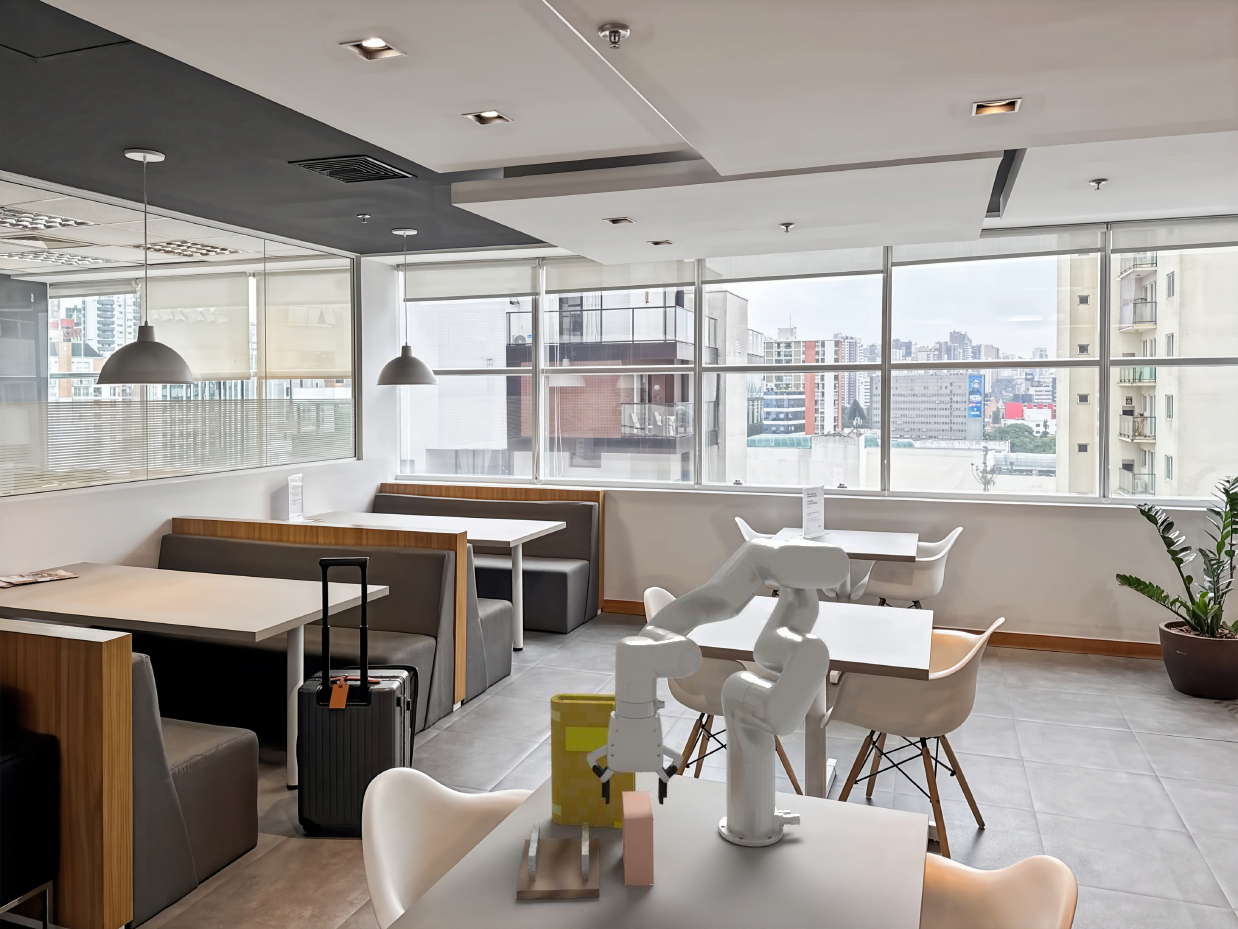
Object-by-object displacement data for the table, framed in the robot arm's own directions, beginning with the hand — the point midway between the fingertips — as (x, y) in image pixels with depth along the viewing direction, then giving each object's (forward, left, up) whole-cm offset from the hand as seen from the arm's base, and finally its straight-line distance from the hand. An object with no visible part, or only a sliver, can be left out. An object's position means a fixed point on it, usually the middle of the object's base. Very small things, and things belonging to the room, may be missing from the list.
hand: (634, 801), depth 154 cm
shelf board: (+13, 0, -13) cm, 18 cm away
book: (+7, -20, -13) cm, 25 cm away
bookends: (+13, 0, -11) cm, 17 cm away
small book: (-1, 0, -13) cm, 13 cm away
